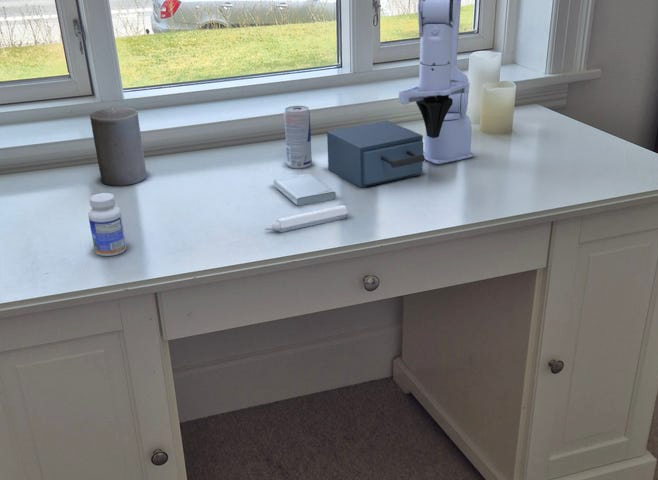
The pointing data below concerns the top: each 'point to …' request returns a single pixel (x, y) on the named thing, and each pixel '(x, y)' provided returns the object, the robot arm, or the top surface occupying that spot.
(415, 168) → the drawer
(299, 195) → the hard drive
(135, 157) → the pillar candle
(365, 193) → the top surface
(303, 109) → the energy drink
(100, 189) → the top surface
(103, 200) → the pill bottle
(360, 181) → the cabinet
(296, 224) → the marker
